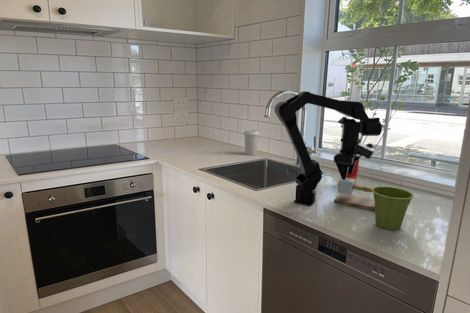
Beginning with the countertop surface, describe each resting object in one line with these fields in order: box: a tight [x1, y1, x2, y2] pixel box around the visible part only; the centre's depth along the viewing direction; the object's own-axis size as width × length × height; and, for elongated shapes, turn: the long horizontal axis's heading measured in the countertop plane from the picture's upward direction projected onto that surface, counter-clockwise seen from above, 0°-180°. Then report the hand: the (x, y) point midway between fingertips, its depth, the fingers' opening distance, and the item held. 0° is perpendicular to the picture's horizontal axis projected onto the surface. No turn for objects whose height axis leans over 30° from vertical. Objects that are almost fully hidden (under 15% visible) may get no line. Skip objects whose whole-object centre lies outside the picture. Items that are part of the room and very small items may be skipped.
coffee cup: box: [243, 129, 260, 156], centre depth 206 cm, size 10×10×15 cm
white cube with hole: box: [337, 177, 356, 195], centre depth 125 cm, size 5×5×5 cm
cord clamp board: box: [333, 184, 380, 212], centre depth 123 cm, size 18×9×8 cm, turn 58°
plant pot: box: [371, 185, 415, 231], centre depth 104 cm, size 12×12×11 cm
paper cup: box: [346, 154, 361, 185], centre depth 147 cm, size 8×8×14 cm
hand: (346, 177), depth 125 cm, fingers open, 9 cm apart
